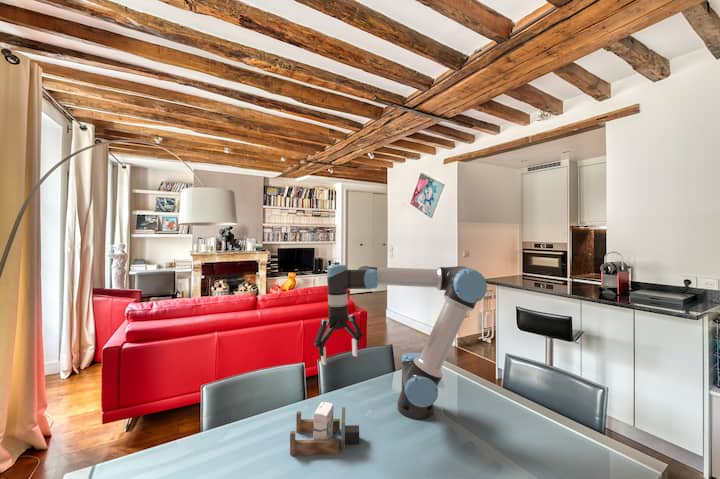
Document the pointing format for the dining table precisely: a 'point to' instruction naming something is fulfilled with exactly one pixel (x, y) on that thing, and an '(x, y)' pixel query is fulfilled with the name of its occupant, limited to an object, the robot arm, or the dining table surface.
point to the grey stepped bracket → (348, 432)
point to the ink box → (323, 421)
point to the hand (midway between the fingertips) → (339, 359)
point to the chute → (312, 445)
